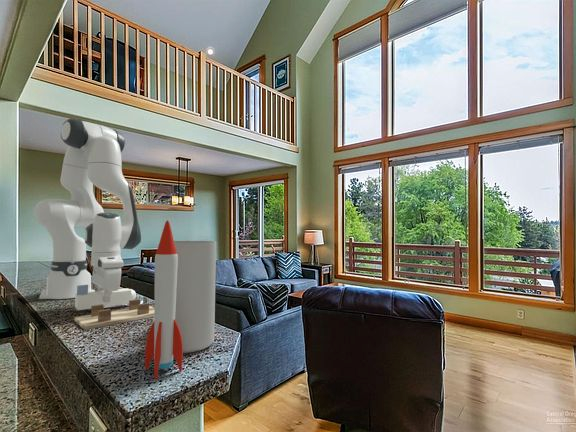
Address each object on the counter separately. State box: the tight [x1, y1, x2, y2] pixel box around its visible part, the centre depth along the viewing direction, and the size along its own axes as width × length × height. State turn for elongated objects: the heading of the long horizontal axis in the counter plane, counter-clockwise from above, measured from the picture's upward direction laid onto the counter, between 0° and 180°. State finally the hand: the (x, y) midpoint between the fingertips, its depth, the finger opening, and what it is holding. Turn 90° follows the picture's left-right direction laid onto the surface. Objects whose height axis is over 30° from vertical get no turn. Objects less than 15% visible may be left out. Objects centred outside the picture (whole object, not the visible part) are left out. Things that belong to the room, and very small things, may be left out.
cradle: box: [73, 298, 154, 331], centre depth 99 cm, size 12×22×4 cm, turn 135°
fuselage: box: [74, 285, 137, 311], centre depth 110 cm, size 4×18×8 cm, turn 134°
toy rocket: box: [144, 220, 184, 380], centre depth 64 cm, size 6×6×30 cm
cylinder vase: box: [174, 240, 217, 354], centre depth 78 cm, size 12×12×25 cm
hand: (104, 300), depth 109 cm, fingers closed on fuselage, 4 cm apart
